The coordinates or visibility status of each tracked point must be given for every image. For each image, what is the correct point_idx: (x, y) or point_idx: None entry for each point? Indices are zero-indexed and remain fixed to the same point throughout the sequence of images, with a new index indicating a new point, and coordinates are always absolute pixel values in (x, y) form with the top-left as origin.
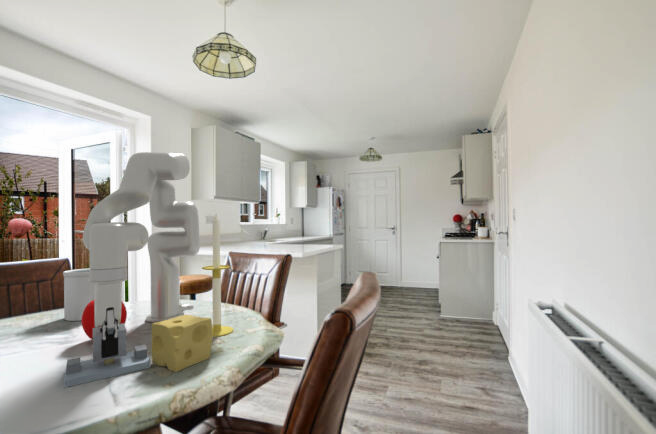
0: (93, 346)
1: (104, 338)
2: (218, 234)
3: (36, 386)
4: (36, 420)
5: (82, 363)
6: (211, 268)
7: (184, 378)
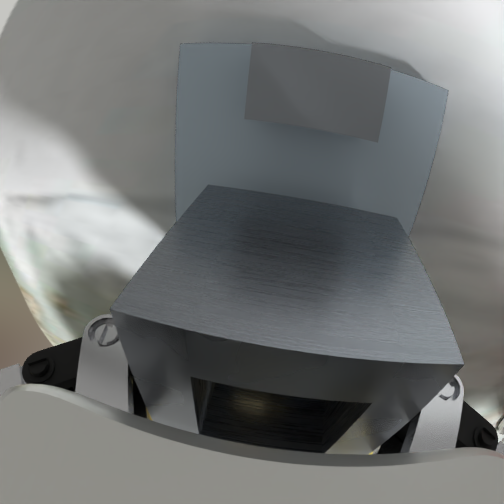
0: (165, 239)
1: (91, 332)
2: None
3: None
4: (17, 33)
5: (396, 150)
6: None
7: (81, 333)
